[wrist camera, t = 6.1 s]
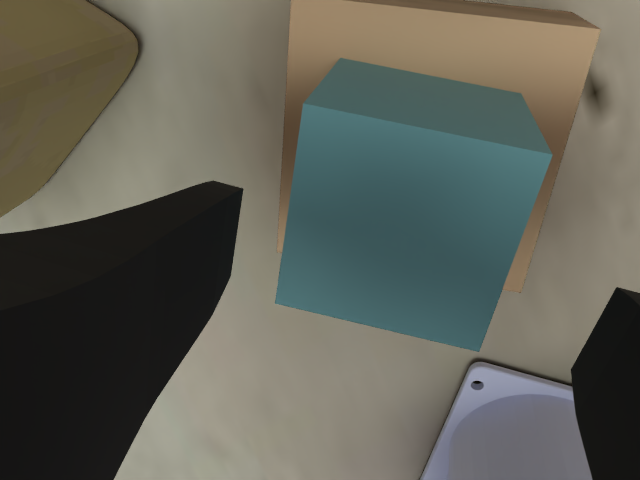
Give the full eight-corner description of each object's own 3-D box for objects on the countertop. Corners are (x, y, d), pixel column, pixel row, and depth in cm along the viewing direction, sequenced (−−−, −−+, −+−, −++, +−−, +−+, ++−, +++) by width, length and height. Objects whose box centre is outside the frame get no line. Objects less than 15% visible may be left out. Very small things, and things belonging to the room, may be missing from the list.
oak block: (508, 235, 22) (521, 293, 18) (301, 203, 23) (276, 252, 19) (570, 11, 18) (601, 29, 14) (318, -17, 19) (291, -6, 15)
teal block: (469, 251, 18) (478, 351, 14) (314, 216, 18) (274, 303, 14) (521, 93, 16) (552, 154, 11) (340, 57, 16) (303, 103, 12)
